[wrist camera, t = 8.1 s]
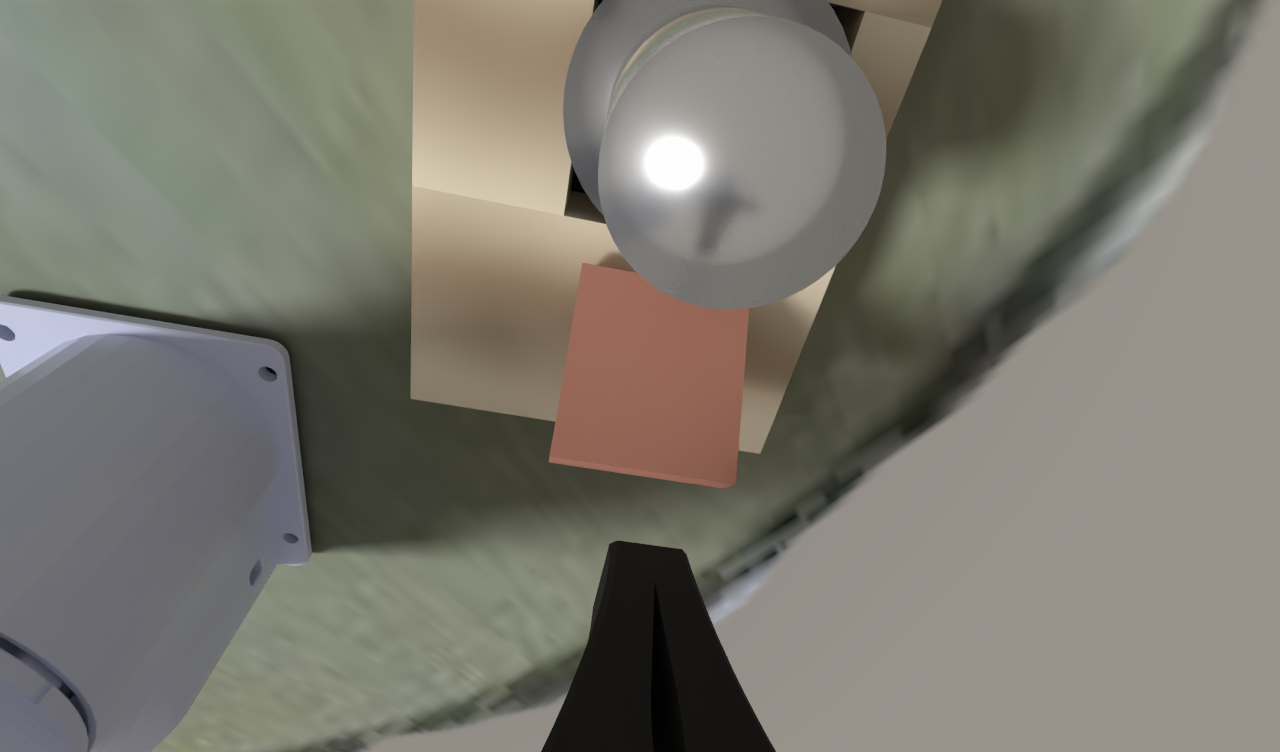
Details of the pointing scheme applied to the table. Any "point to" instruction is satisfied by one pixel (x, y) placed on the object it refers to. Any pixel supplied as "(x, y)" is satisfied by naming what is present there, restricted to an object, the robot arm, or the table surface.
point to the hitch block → (557, 204)
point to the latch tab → (650, 383)
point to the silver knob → (724, 143)
